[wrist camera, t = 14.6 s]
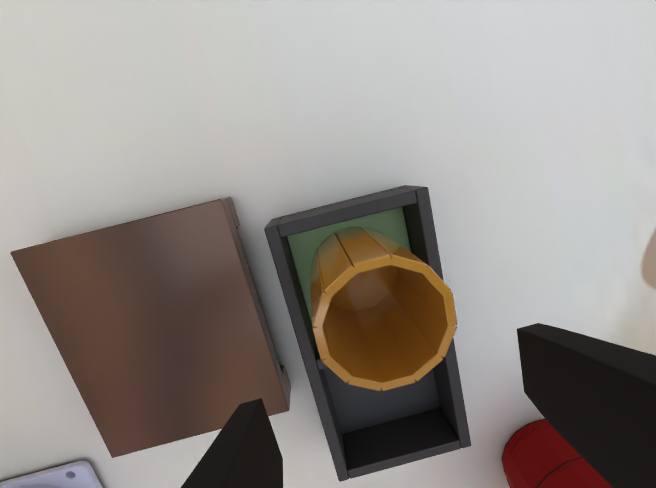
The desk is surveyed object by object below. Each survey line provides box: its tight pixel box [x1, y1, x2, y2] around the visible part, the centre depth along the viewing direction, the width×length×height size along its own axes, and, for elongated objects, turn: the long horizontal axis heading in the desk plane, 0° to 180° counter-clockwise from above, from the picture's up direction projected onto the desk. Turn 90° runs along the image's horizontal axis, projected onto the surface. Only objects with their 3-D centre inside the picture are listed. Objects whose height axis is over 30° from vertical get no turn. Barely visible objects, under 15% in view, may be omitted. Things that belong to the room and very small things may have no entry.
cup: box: [310, 227, 457, 391], centre depth 14 cm, size 5×5×6 cm
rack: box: [265, 185, 471, 481], centre depth 17 cm, size 8×15×3 cm, turn 14°
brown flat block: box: [11, 197, 291, 458], centre depth 17 cm, size 10×12×2 cm
